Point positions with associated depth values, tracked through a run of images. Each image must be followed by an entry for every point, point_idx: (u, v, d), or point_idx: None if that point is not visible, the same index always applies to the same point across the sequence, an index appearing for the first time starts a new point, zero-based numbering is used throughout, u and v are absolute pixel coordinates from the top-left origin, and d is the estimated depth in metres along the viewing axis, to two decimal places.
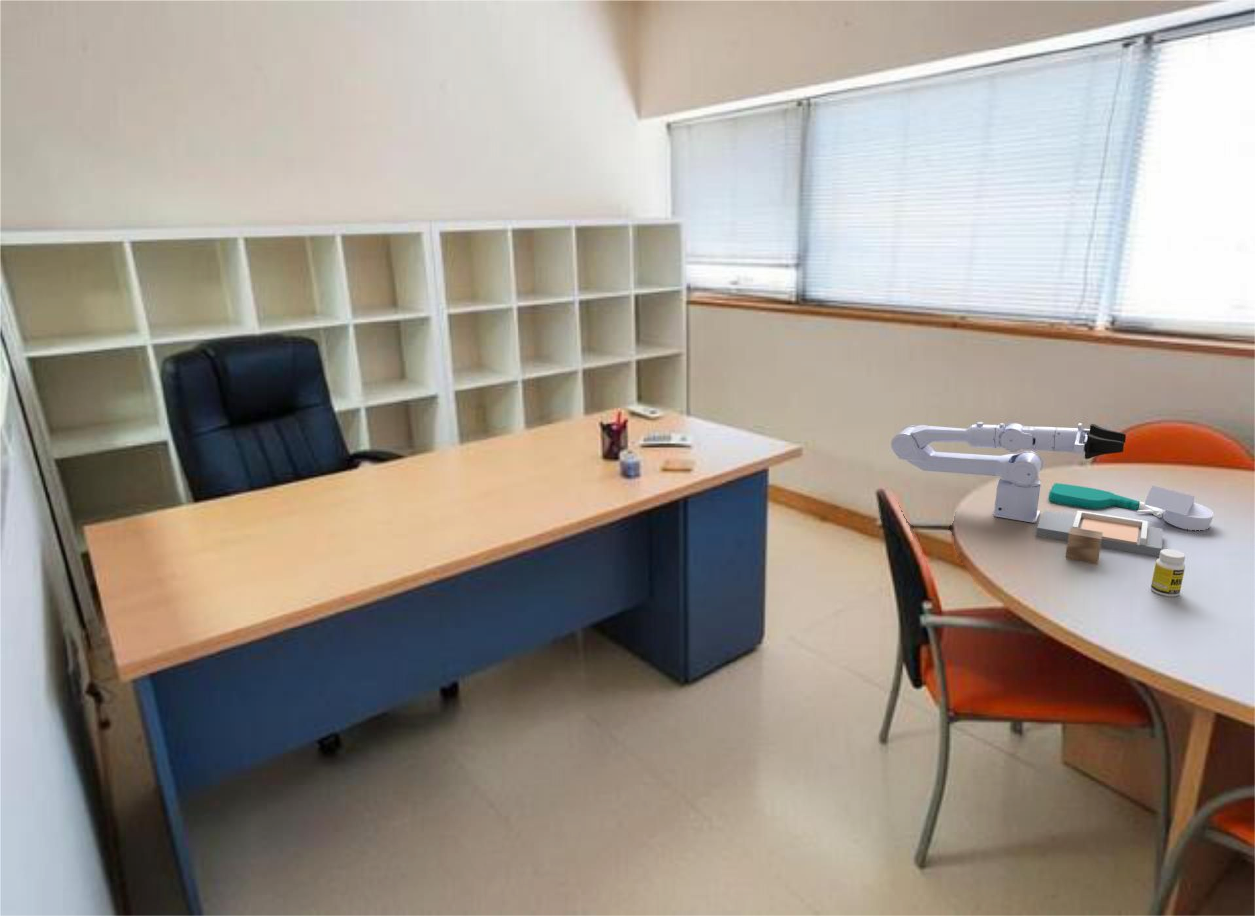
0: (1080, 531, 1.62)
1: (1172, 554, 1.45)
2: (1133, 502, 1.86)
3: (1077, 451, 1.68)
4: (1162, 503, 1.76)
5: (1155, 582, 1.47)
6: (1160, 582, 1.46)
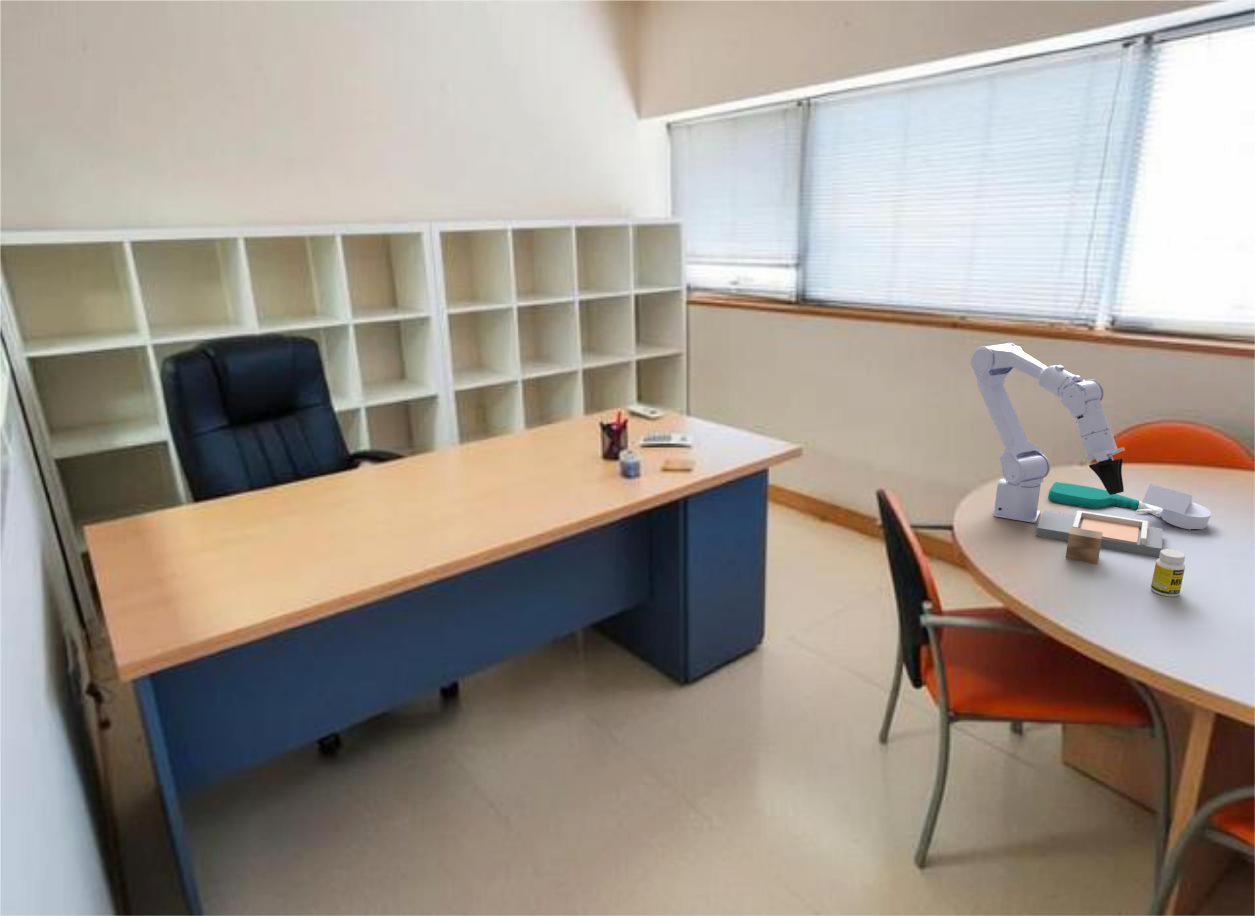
0: (1080, 531, 1.62)
1: (1172, 554, 1.45)
2: (1133, 501, 1.86)
3: (1097, 456, 1.57)
4: (1160, 501, 1.77)
5: (1155, 582, 1.47)
6: (1160, 582, 1.46)
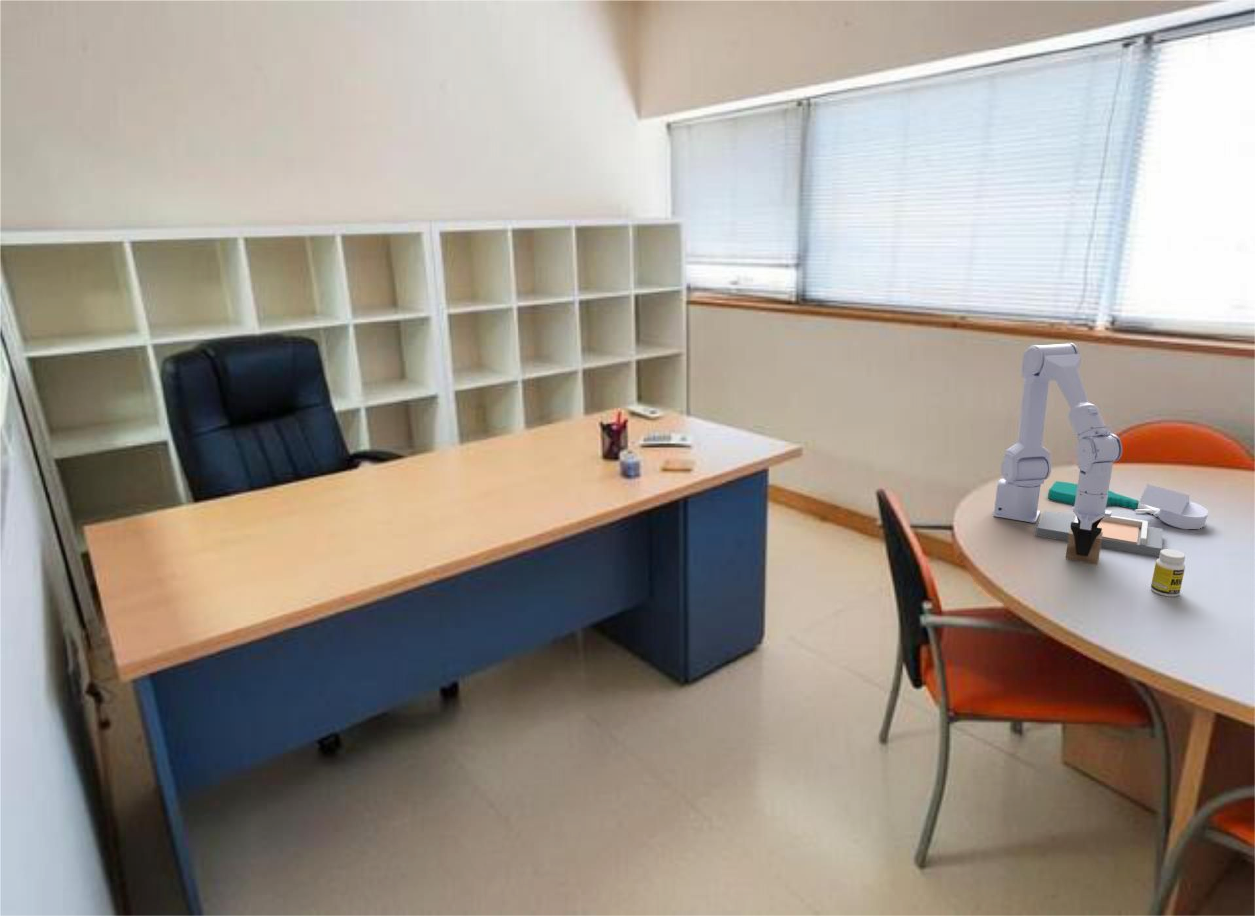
0: None
1: (1172, 554, 1.45)
2: (1132, 501, 1.87)
3: (1082, 523, 1.55)
4: (1157, 502, 1.77)
5: (1155, 582, 1.47)
6: (1160, 582, 1.46)
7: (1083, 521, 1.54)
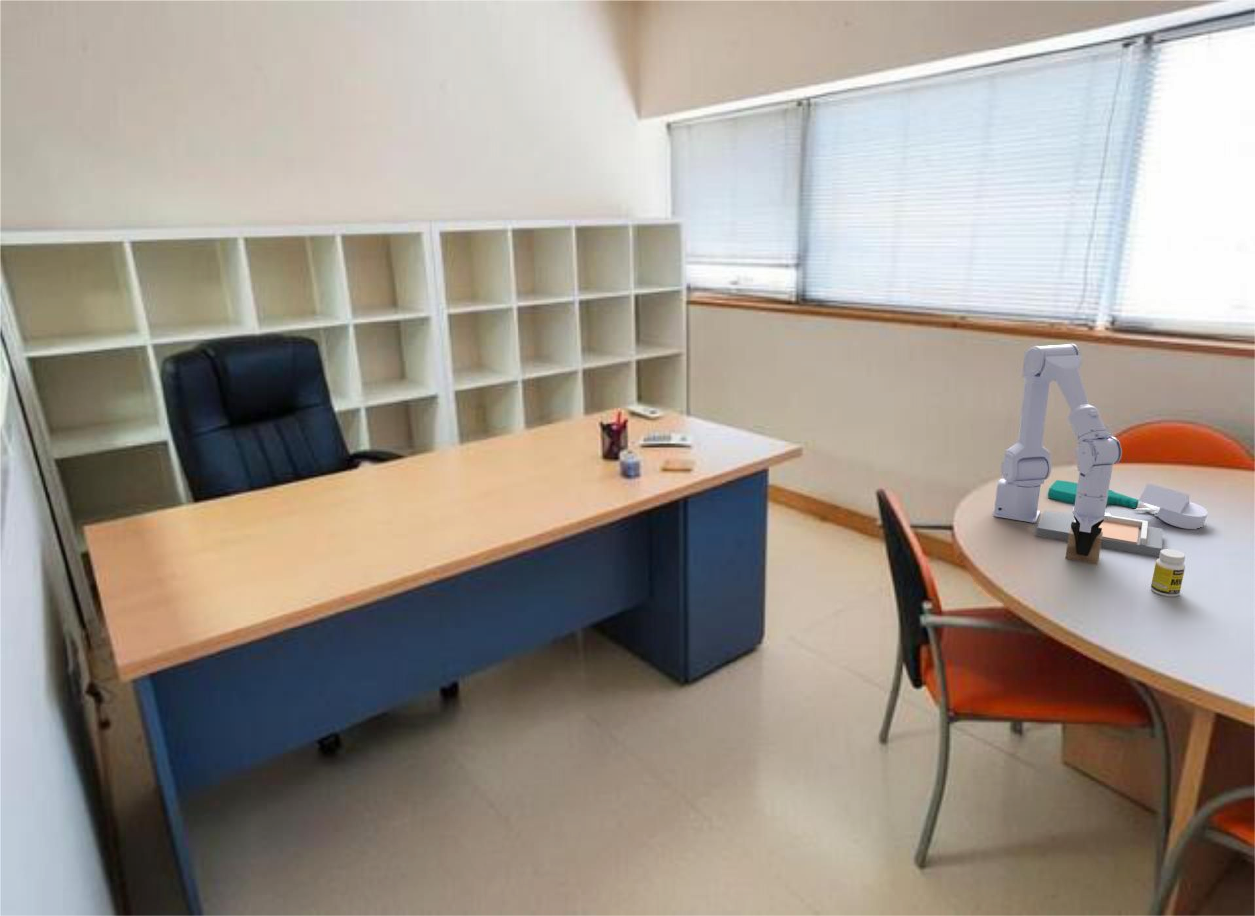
0: None
1: (1172, 554, 1.45)
2: (1132, 500, 1.87)
3: (1082, 526, 1.55)
4: (1156, 500, 1.77)
5: (1155, 582, 1.47)
6: (1160, 582, 1.46)
7: (1083, 524, 1.55)
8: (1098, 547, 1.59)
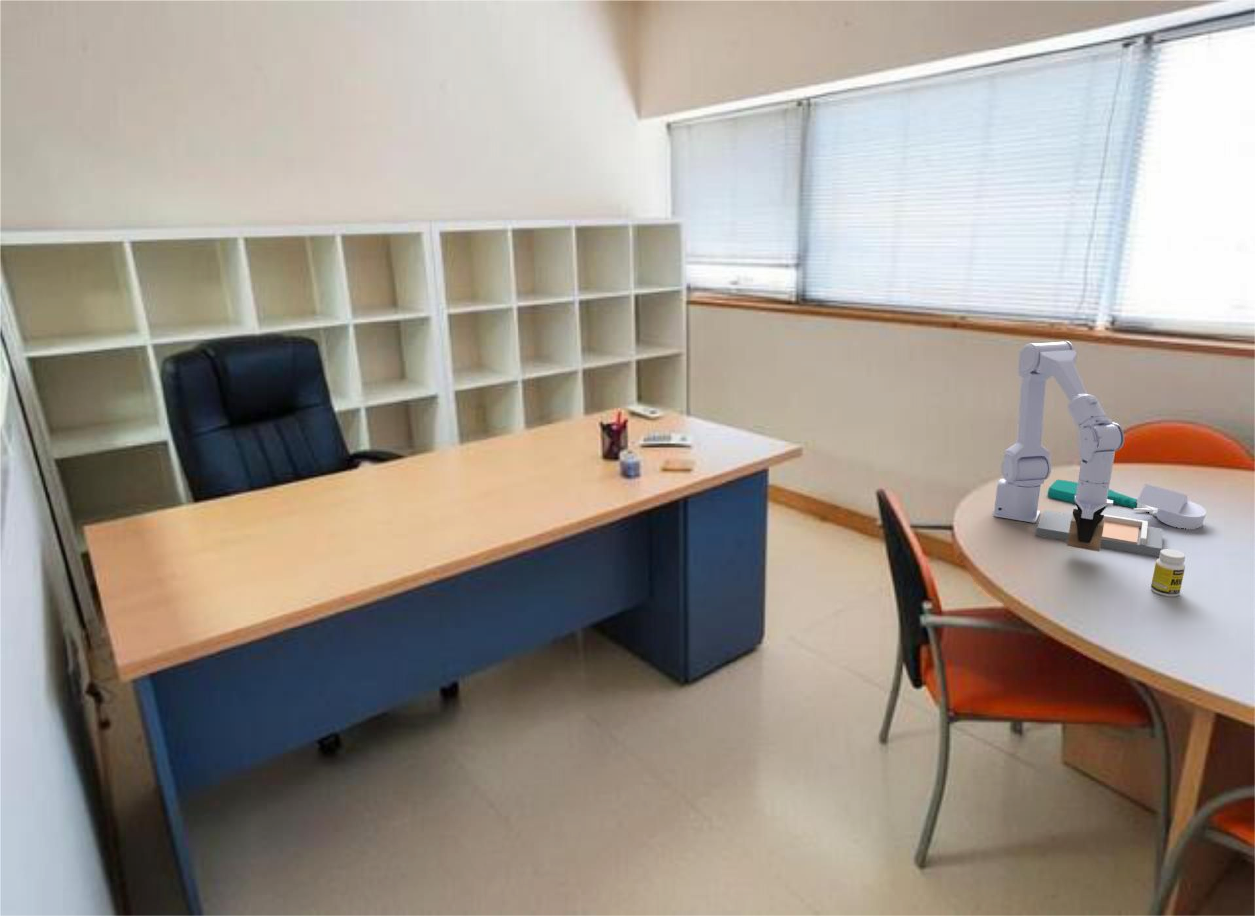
0: None
1: (1172, 554, 1.45)
2: (1131, 500, 1.87)
3: (1084, 512, 1.54)
4: (1154, 501, 1.77)
5: (1155, 582, 1.47)
6: (1160, 582, 1.46)
7: (1085, 510, 1.54)
8: (1100, 534, 1.58)
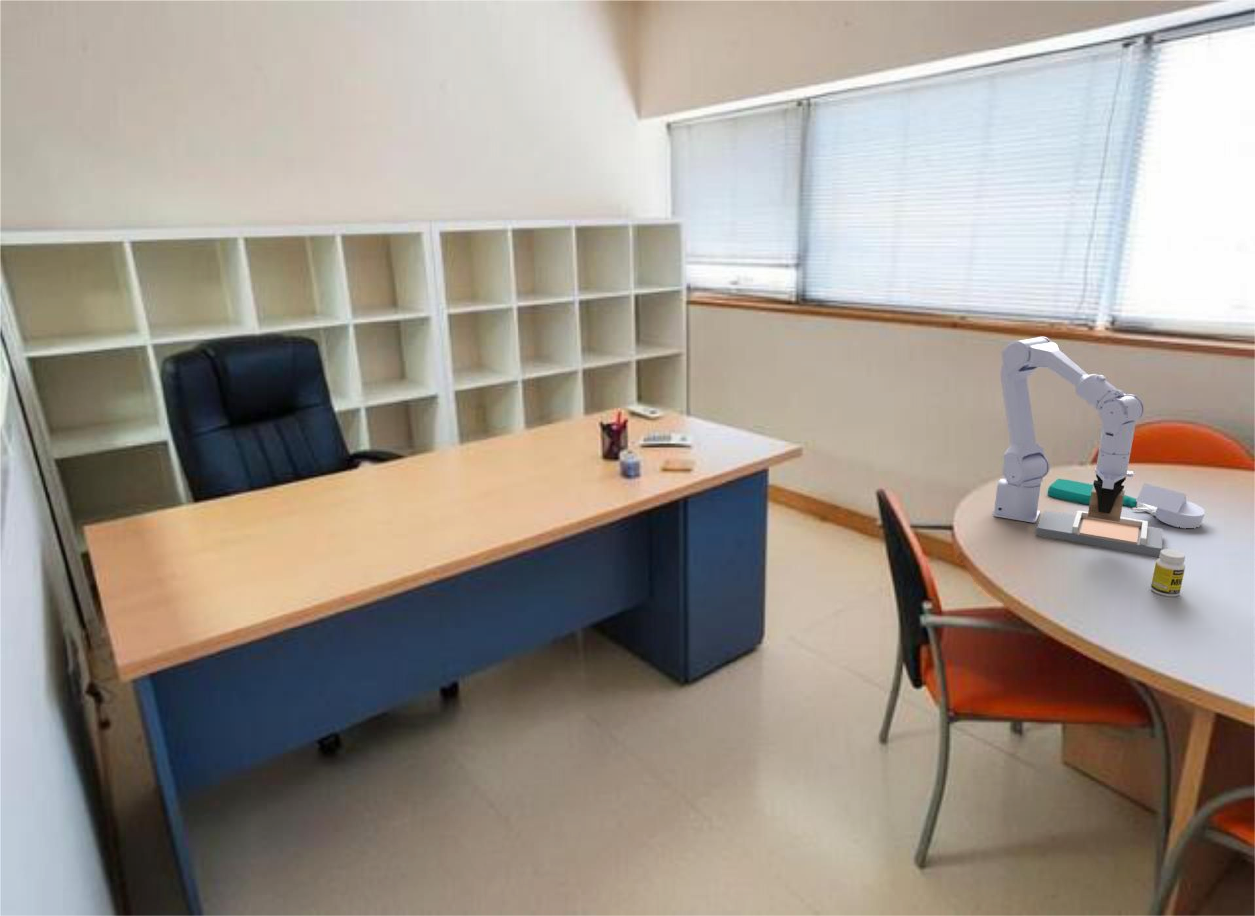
0: None
1: (1172, 554, 1.45)
2: (1131, 500, 1.88)
3: (1104, 482, 1.58)
4: (1153, 500, 1.78)
5: (1155, 582, 1.47)
6: (1160, 582, 1.46)
7: (1105, 480, 1.58)
8: (1120, 505, 1.62)
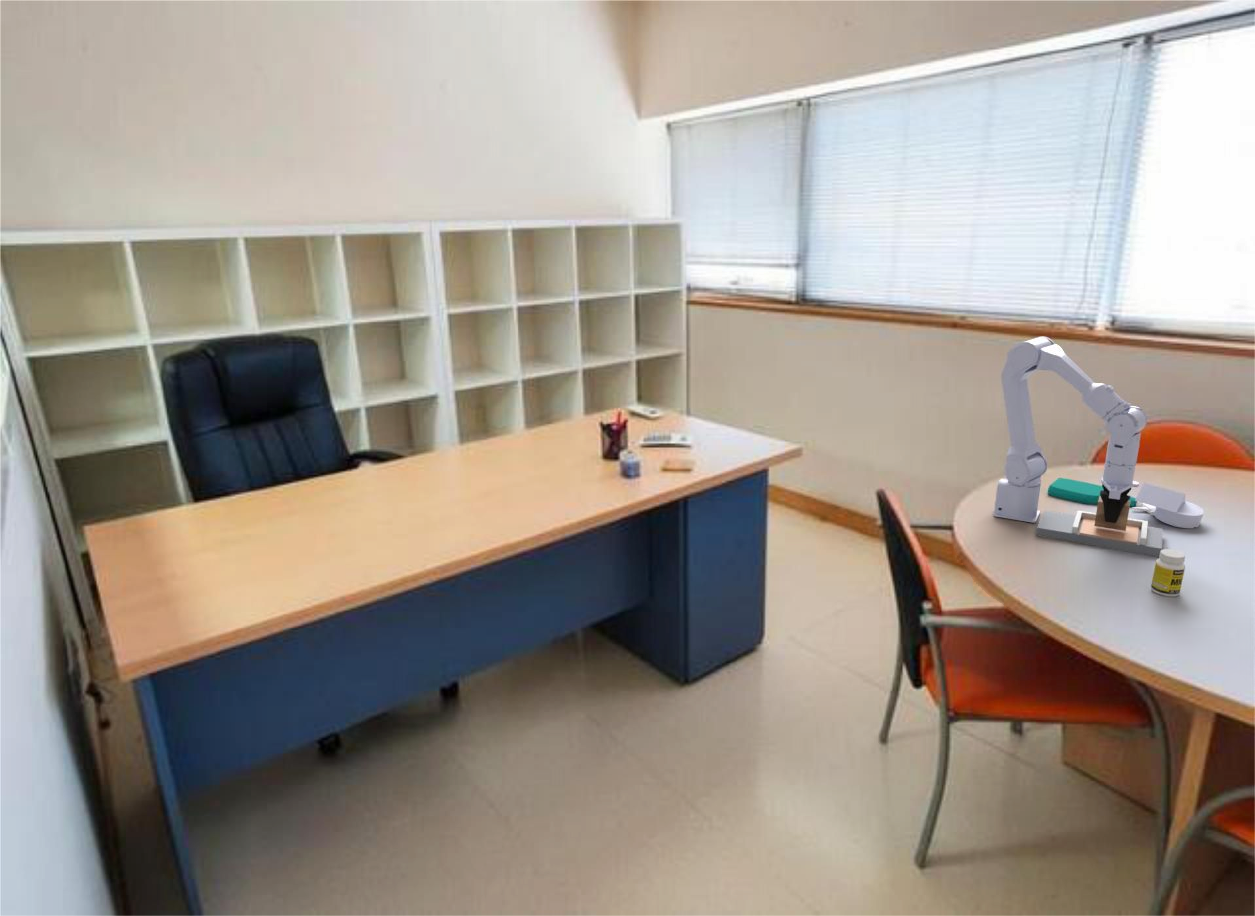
0: None
1: (1172, 554, 1.45)
2: (1131, 499, 1.88)
3: (1111, 493, 1.62)
4: (1153, 500, 1.78)
5: (1155, 582, 1.47)
6: (1160, 582, 1.46)
7: (1112, 491, 1.61)
8: (1126, 514, 1.66)
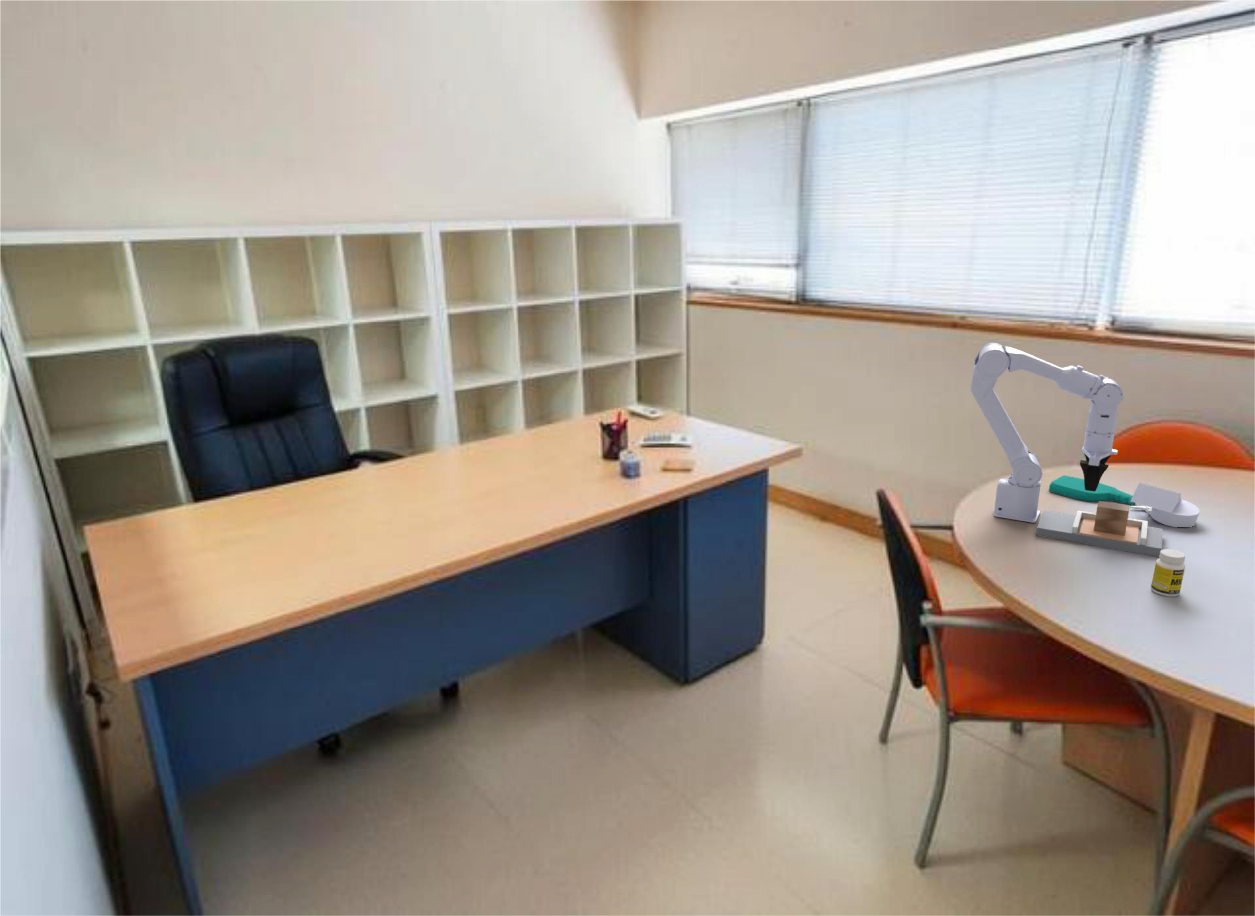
0: (1108, 505, 1.69)
1: (1172, 554, 1.45)
2: (1130, 498, 1.89)
3: (1091, 460, 1.70)
4: (1148, 500, 1.78)
5: (1155, 582, 1.47)
6: (1160, 582, 1.46)
7: (1092, 458, 1.70)
8: (1125, 519, 1.66)
